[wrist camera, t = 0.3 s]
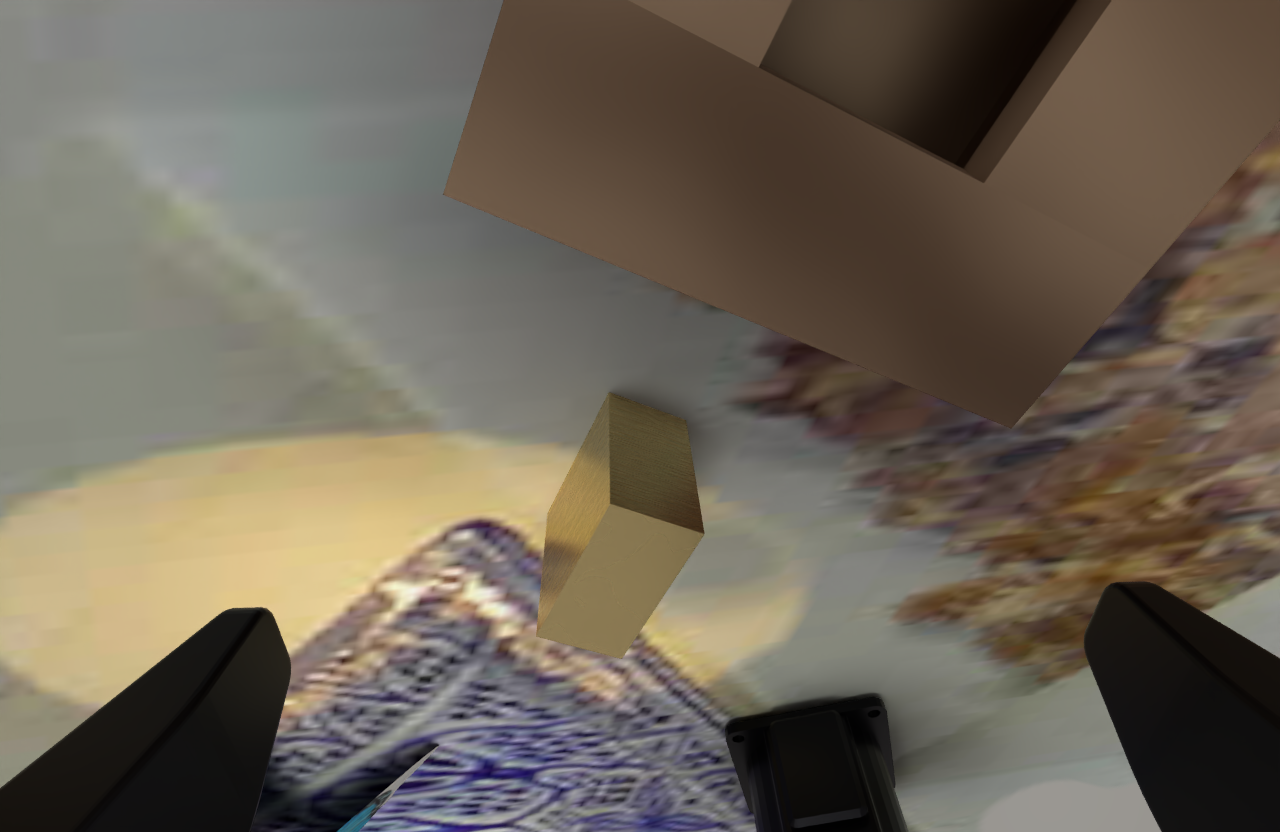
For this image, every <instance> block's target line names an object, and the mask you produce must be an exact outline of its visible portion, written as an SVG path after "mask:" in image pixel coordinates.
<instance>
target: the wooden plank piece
mask: <svg viewBox="0 0 1280 832" xmlns="http://www.w3.org/2000/svg"><path fill="white" fill-rule="evenodd" d="M703 536H704V528H703V522H702V515H701V509H700V503H699V497H698V491H697V485H696V479H695V473H694V466H693V460H692V454H691V448H690V442H689V436H688V430H687V424H686V420H684V419H681V418H678V417H676V416H673V415H670V414H667V413H665V412H662V411H659V410H656V409H654V408H651V407H648V406H645V405H643V404H640V403H637V402H634V401H632V400H629V399H626V398H623V397H621V396H618V395H615V394H612V393H610V392H609V393H608V395H607V397H606V399H605V401H604V403H603V405H602V407H601V409H600V411H599V413H598V415H597V417H596V419H595V421H594V423H593V425H592V427H591V429H590V431H589V433H588V435H587V437H586V439H585V441H584V443H583V445H582V447H581V448H580V450H579V452H578V454H577V456H576V458H575V460H574V462H573V464H572V466H571V468H570V470H569V472H568V474H567V476H566V478H565V480H564V482H563V484H562V486H561V488H560V490H559V492H558V494H557V496H556V498H555V500H554V502H553V504H552V506H551V508H550V510H549V512H548V516H547V527H546V537H545V548H544V559H543V569H542V580H541V590H540V601H539V611H538V622H537V632H536V637H540V638H544V639H548V640H552V641H556V642H559V643H563V644H567V645H571V646H575V647H578V648H582V649H586V650H590V651H594V652H597V653H601V654H605V655H609V656H613V657H616V658H620V659H622V658H623V656H624V655H625V653H626V652H627V650H628V649H629V647H630V646H631V644H632V643H633V641H634V640H635V638H636V637H637V635H638V634H639V632H640V631H641V629H642V628H643V626H644V625H645V623H646V622H647V620H648V619H649V617H650V616H651V614H652V613H653V611H654V610H655V608H656V607H657V605H658V604H659V602H660V601H661V599H662V597H663V596H664V594H665V593H666V591H667V590H668V588H669V587H670V585H671V584H672V582H673V581H674V579H675V578H676V576H677V575H678V573H679V572H680V570H681V569H682V567H683V566H684V564H685V563H686V561H687V560H688V558H689V557H690V555H691V554H692V552H693V551H694V549H695V548H696V546H697V545H698V543H699V542H700V540H701V539H702V537H703Z"/></svg>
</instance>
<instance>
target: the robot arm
mask: <svg viewBox="0 0 1280 832" xmlns="http://www.w3.org/2000/svg"><path fill="white" fill-rule="evenodd" d="M1084 649H1085V654H1086V657H1087V660H1088V662H1089V665H1090V667H1091V670H1092V672H1093V675H1094V677H1095V680H1096V682H1097V685H1098V687H1099V690H1100V692H1101V695H1102V697H1103V699H1104V702H1105V704H1106V707H1107V709H1108V712H1109V714H1110V717H1111V719H1112V722H1113V724H1114V727H1115V729H1116V732H1117V734H1118V737H1119V739H1120V742H1121V744H1122V747H1123V749H1124V752H1125V754H1126V757H1127V759H1128V761H1129V764H1130V766H1131V769H1132V771H1133V773H1134V776H1135V778H1136V780H1137V783H1138V785H1139V787H1140V789H1141V791H1142V794H1143V796H1144V798H1145V800H1146V802H1147V804H1148V806H1149V808H1150V810H1151V812H1152V814H1153V816H1154V818H1155V820H1156V822H1157V824H1158V826H1159V827H1160V829H1161V831H1162V832H1280V658H1278V657H1277V656H1275V655H1273V654H1272V653H1270V652H1268V651H1267V650H1265V649H1263V648H1262V647H1260V646H1258V645H1257V644H1255V643H1253V642H1252V641H1250V640H1248V639H1247V638H1245V637H1243V636H1242V635H1240V634H1238V633H1237V632H1235V631H1233V630H1232V629H1230V628H1228V627H1227V626H1225V625H1223V624H1222V623H1220V622H1218V621H1217V620H1215V619H1213V618H1212V617H1210V616H1208V615H1206V614H1205V613H1203V612H1201V611H1200V610H1198V609H1196V608H1195V607H1193V606H1191V605H1190V604H1188V603H1186V602H1185V601H1183V600H1181V599H1180V598H1178V597H1176V596H1175V595H1173V594H1171V593H1170V592H1168V591H1166V590H1165V589H1163V588H1161V587H1159V586H1158V585H1156V584H1153V583H1150V582H1116V583H1112V584H1110V585H1109V586H1108V587H1106V588H1105V590H1104V591H1103V593H1102V595H1101V598H1100V600H1099V602H1098V604H1097V606H1096V609H1095V611H1094V613H1093V615H1092V618H1091V620H1090V622H1089V624H1088V626H1087V629H1086V631H1085V635H1084ZM290 676H291V662H290V657H289V654H288V652H287V649H286V646H285V644H284V641H283V639H282V636H281V634H280V631H279V628H278V626H277V623H276V621H275V618H274V616H273V614H272V613H271V612H270V611H269V610H268V609H267V608H262V607H256V608H232V609H228V610H226V611H224V612H222V613H220V614H219V615H218V616H216V617H215V618H214V619H213V620H211V621H210V622H209V623H208V624H206V625H205V626H204V627H203V628H201V629H200V630H199V631H198V632H196V633H195V634H194V635H192V636H191V637H190V638H189V639H187V640H186V641H185V642H184V643H182V644H181V645H180V646H179V647H177V648H176V649H175V650H174V651H172V652H171V653H170V654H169V655H167V656H166V657H165V658H164V659H162V660H161V661H160V662H158V663H157V664H156V665H155V666H153V667H152V668H151V669H150V670H148V671H147V672H146V673H145V674H143V675H142V676H141V677H140V678H138V679H137V680H136V681H135V682H133V683H132V684H131V685H130V686H128V687H127V688H126V689H124V690H123V691H122V692H121V693H119V694H118V695H117V696H116V697H114V698H113V699H112V700H111V701H109V702H108V703H107V704H106V705H104V706H103V707H102V708H101V709H99V710H98V711H97V712H96V713H94V714H93V715H92V716H90V717H89V718H88V719H87V720H85V721H84V722H83V723H82V724H80V725H79V726H78V727H77V728H75V729H74V730H73V731H72V732H70V733H69V734H68V735H67V736H65V737H64V738H63V739H62V740H60V741H59V742H58V743H56V744H55V745H54V746H53V747H51V748H50V749H49V750H48V751H46V752H45V753H44V754H43V755H41V756H40V757H39V758H38V759H36V760H35V761H34V762H33V763H31V764H30V765H29V766H28V767H26V768H25V769H24V770H22V771H21V772H20V773H19V774H17V775H16V776H15V777H14V778H12V779H11V780H10V781H9V782H7V783H6V784H5V785H4V786H2V787H1V788H0V832H250V831H251V828H252V825H253V822H254V818H255V815H256V811H257V808H258V804H259V800H260V797H261V793H262V789H263V785H264V781H265V777H266V773H267V769H268V765H269V761H270V757H271V753H272V749H273V745H274V741H275V737H276V733H277V730H278V726H279V722H280V718H281V714H282V710H283V706H284V702H285V698H286V694H287V690H288V686H289V682H290ZM725 736H726V742H727V745H728V748H729V751H730V754H731V757H732V760H733V763H734V766H735V769H736V772H737V775H738V778H739V781H740V784H741V787H742V790H743V793H744V796H745V799H746V802H747V805H748V808H749V811H750V812H751V813H753V814H754V817H755V823H756V830H757V832H908V829H907V826H906V823H905V820H904V817H903V814H902V811H901V808H900V805H899V802H898V799H897V796H896V793H895V790H894V788H895V777H894V769H893V760H892V752H891V743H890V735H889V726H888V718H887V711H886V708H885V705H884V702H883V700H882V699H880V698H876V697H871V698H865V699H860V700H854V701H849V702H844V703H838V704H833V705H828V706H823V707H817V708H812V709H807V710H801V711H796V712H791V713H785V714H780V715H775V716H769V717H764V718H759V719H753V720H748V721H743V722H737V723H733V724H730V725H729V726H727V727H726V729H725Z"/></svg>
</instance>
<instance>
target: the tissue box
mask: <svg viewBox="0 0 1280 832" xmlns="http://www.w3.org/2000/svg"><path fill="white" fill-rule="evenodd" d="M1279 121H1280V0H504V1H503V5H502V8H501V11H500V14H499V17H498V21H497V24H496V27H495V30H494V33H493V37H492V40H491V43H490V46H489V49H488V53H487V56H486V59H485V62H484V65H483V69H482V72H481V75H480V78H479V81H478V85H477V88H476V91H475V94H474V97H473V101H472V104H471V107H470V110H469V113H468V117H467V120H466V123H465V126H464V129H463V133H462V136H461V139H460V142H459V145H458V149H457V152H456V155H455V158H454V161H453V165H452V168H451V171H450V174H449V177H448V181H447V184H446V187H445V190H444V193H443V195H445V196H448V197H450V198H453V199H455V200H458V201H460V202H462V203H465V204H467V205H470V206H472V207H475V208H477V209H479V210H482V211H484V212H487V213H489V214H492V215H494V216H496V217H499V218H501V219H504V220H506V221H509V222H511V223H513V224H516V225H518V226H521V227H523V228H526V229H528V230H530V231H533V232H535V233H538V234H540V235H543V236H545V237H547V238H550V239H552V240H555V241H557V242H560V243H562V244H564V245H567V246H569V247H572V248H574V249H577V250H579V251H581V252H584V253H586V254H589V255H591V256H594V257H596V258H598V259H601V260H603V261H606V262H608V263H611V264H613V265H615V266H618V267H620V268H623V269H625V270H628V271H630V272H632V273H635V274H637V275H640V276H642V277H645V278H647V279H649V280H652V281H654V282H657V283H659V284H662V285H664V286H666V287H669V288H671V289H674V290H676V291H679V292H681V293H683V294H686V295H688V296H691V297H693V298H696V299H698V300H700V301H703V302H705V303H708V304H710V305H713V306H715V307H717V308H720V309H722V310H725V311H727V312H730V313H732V314H734V315H737V316H739V317H742V318H744V319H747V320H749V321H751V322H754V323H756V324H759V325H761V326H764V327H766V328H768V329H771V330H773V331H776V332H778V333H781V334H783V335H785V336H788V337H790V338H793V339H795V340H798V341H800V342H802V343H805V344H807V345H810V346H812V347H814V348H817V349H819V350H822V351H824V352H827V353H829V354H831V355H834V356H836V357H839V358H841V359H844V360H846V361H848V362H851V363H853V364H856V365H858V366H861V367H863V368H865V369H868V370H870V371H873V372H875V373H878V374H880V375H882V376H885V377H887V378H890V379H892V380H895V381H897V382H899V383H902V384H904V385H907V386H909V387H912V388H914V389H916V390H919V391H921V392H924V393H926V394H929V395H931V396H933V397H936V398H938V399H941V400H943V401H946V402H948V403H950V404H953V405H955V406H958V407H960V408H963V409H965V410H967V411H970V412H972V413H975V414H977V415H980V416H982V417H984V418H987V419H989V420H992V421H994V422H997V423H999V424H1001V425H1004V426H1006V427H1009V428H1012V427H1013V426H1014V425H1015V424H1016V423H1017V421H1018V420H1019V419H1020V418H1021V417H1022V416H1023V415H1024V413H1025V412H1026V411H1027V410H1028V409H1029V408H1030V407H1031V405H1032V404H1033V403H1034V402H1035V401H1036V400H1037V399H1038V397H1039V396H1040V395H1041V394H1042V393H1043V392H1044V390H1045V389H1046V388H1047V387H1048V386H1049V385H1050V384H1051V382H1052V381H1053V380H1054V379H1055V378H1056V377H1057V376H1058V374H1059V373H1060V372H1061V371H1062V370H1063V369H1064V368H1065V366H1066V365H1067V364H1068V363H1069V362H1070V361H1071V359H1072V358H1073V357H1074V356H1075V355H1076V354H1077V353H1078V351H1079V350H1080V349H1081V348H1082V347H1083V346H1084V345H1085V343H1086V342H1087V341H1088V340H1089V339H1090V338H1091V337H1092V335H1093V334H1094V333H1095V332H1096V331H1097V330H1098V328H1099V327H1100V326H1101V325H1102V324H1103V323H1104V322H1105V320H1106V319H1107V318H1108V317H1109V316H1110V315H1111V314H1112V312H1113V311H1114V310H1115V309H1116V308H1117V307H1118V306H1119V304H1120V303H1121V302H1122V301H1123V300H1124V299H1125V297H1126V296H1127V295H1128V294H1129V293H1130V292H1131V291H1132V289H1133V288H1134V287H1135V286H1136V285H1137V284H1138V283H1139V281H1140V280H1141V279H1142V278H1143V277H1144V276H1145V275H1146V273H1147V272H1148V271H1149V270H1150V269H1151V268H1152V266H1153V265H1154V264H1155V263H1156V262H1157V261H1158V260H1159V258H1160V257H1161V256H1162V255H1163V254H1164V253H1165V252H1166V250H1167V249H1168V248H1169V247H1170V246H1171V245H1172V244H1173V242H1174V241H1175V240H1176V239H1177V238H1178V237H1179V235H1180V234H1181V233H1182V232H1183V231H1184V230H1185V229H1186V227H1187V226H1188V225H1189V224H1190V223H1191V222H1192V221H1193V219H1194V218H1195V217H1196V216H1197V215H1198V214H1199V213H1200V211H1201V210H1202V209H1203V208H1204V207H1205V206H1206V204H1207V203H1208V202H1209V201H1210V200H1211V199H1212V198H1213V196H1214V195H1215V194H1216V193H1217V192H1218V191H1219V190H1220V188H1221V187H1222V186H1223V185H1224V184H1225V183H1226V182H1227V180H1228V179H1229V178H1230V177H1231V176H1232V175H1233V173H1234V172H1235V171H1236V170H1237V169H1238V168H1239V167H1240V165H1241V164H1242V163H1243V162H1244V161H1245V160H1246V159H1247V157H1248V156H1249V155H1250V154H1251V153H1252V152H1253V151H1254V149H1255V148H1256V147H1257V146H1258V145H1259V144H1260V142H1261V141H1262V140H1263V139H1264V138H1265V137H1266V136H1267V134H1268V133H1269V132H1270V131H1271V130H1272V129H1273V128H1274V126H1275V125H1276V124H1277V123H1278V122H1279Z"/></svg>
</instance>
